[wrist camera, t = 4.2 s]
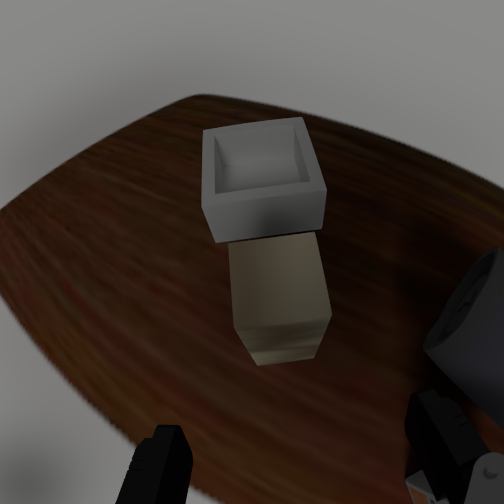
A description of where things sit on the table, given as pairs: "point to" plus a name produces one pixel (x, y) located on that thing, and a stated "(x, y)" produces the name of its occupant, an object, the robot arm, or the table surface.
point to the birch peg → (279, 297)
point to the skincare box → (421, 490)
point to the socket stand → (261, 180)
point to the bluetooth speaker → (474, 335)
